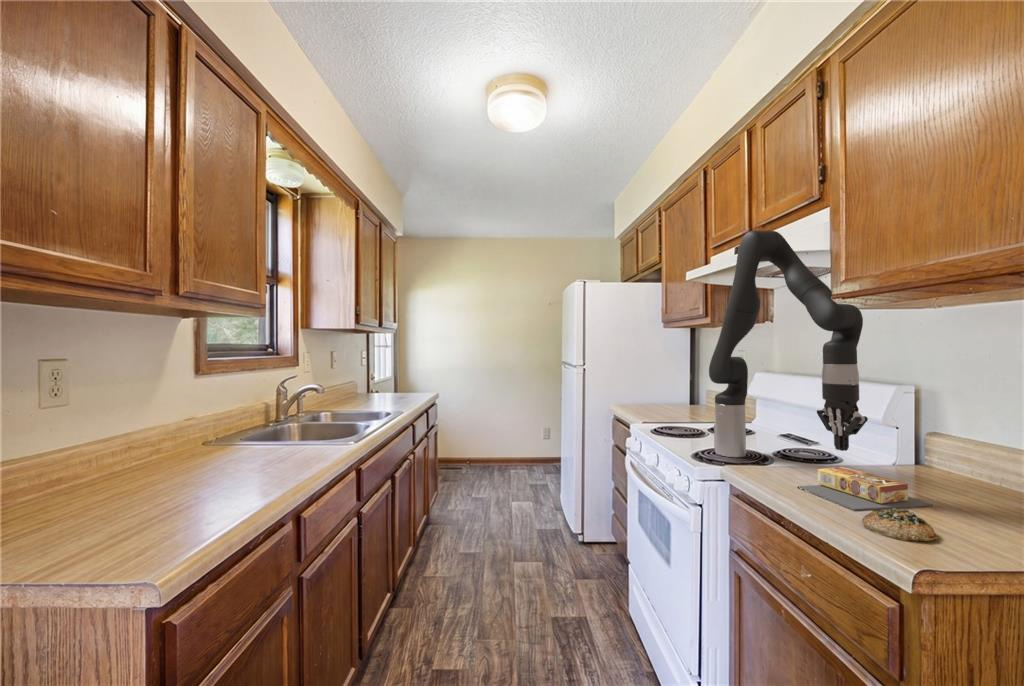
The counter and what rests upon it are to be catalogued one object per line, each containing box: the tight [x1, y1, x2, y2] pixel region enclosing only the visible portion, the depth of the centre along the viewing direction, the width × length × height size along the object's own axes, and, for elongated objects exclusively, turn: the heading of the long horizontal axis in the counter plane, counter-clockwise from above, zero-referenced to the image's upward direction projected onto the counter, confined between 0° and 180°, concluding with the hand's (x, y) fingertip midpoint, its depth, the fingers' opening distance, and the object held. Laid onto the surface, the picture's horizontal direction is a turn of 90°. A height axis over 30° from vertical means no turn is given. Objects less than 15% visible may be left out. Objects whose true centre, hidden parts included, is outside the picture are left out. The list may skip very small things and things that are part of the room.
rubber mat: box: [797, 484, 933, 512], centre depth 105 cm, size 16×20×1 cm
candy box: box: [817, 466, 909, 504], centre depth 106 cm, size 9×4×15 cm
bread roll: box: [861, 508, 938, 542], centre depth 85 cm, size 11×11×5 cm
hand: (841, 449), depth 110 cm, fingers closed
